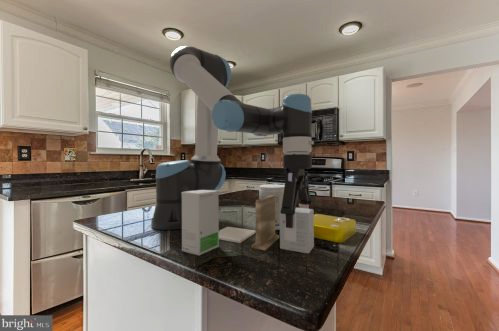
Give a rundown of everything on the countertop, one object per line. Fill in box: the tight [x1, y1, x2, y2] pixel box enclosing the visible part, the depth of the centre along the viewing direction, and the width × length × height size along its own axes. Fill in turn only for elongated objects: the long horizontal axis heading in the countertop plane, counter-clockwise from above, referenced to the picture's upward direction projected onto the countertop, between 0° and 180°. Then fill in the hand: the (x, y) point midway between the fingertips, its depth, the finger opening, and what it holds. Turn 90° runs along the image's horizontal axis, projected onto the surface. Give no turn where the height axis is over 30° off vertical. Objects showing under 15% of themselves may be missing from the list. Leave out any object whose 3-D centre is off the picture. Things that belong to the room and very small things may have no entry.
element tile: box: [314, 213, 357, 243], centre depth 79 cm, size 15×15×5 cm
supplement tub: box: [258, 183, 285, 231], centre depth 85 cm, size 10×10×15 cm
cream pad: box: [219, 226, 256, 244], centre depth 76 cm, size 11×11×1 cm
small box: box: [279, 207, 315, 254], centre depth 65 cm, size 8×6×10 cm
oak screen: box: [250, 195, 280, 251], centre depth 69 cm, size 4×11×13 cm, turn 154°
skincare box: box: [181, 190, 220, 256], centre depth 64 cm, size 8×7×16 cm
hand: (297, 232), depth 65 cm, fingers open, 13 cm apart
